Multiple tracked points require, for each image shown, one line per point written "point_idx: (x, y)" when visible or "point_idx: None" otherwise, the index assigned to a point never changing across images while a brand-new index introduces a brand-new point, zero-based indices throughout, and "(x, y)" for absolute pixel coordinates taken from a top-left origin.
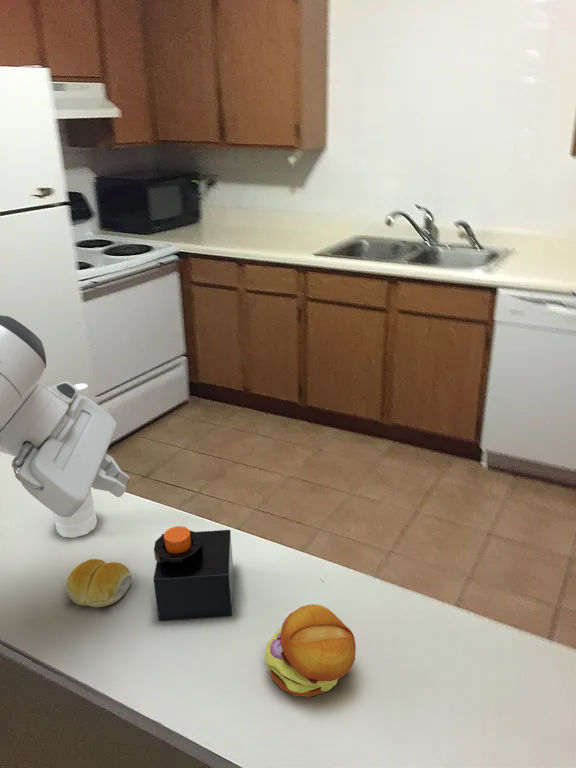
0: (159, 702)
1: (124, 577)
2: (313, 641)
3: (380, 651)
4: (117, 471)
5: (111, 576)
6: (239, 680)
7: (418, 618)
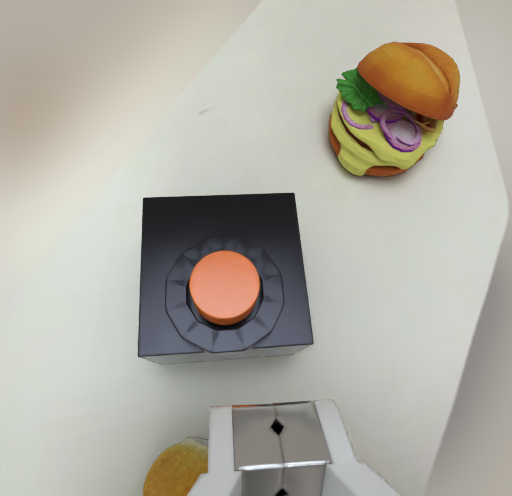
0: (453, 322)
1: (207, 449)
2: (444, 70)
3: (336, 64)
4: (235, 488)
5: None
6: (399, 217)
7: (281, 21)
